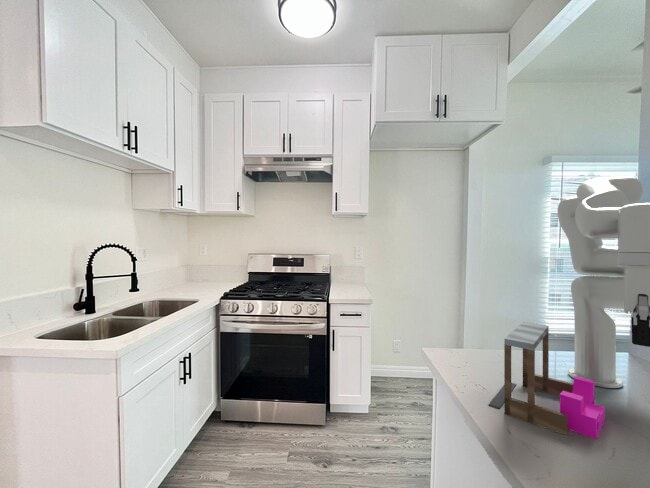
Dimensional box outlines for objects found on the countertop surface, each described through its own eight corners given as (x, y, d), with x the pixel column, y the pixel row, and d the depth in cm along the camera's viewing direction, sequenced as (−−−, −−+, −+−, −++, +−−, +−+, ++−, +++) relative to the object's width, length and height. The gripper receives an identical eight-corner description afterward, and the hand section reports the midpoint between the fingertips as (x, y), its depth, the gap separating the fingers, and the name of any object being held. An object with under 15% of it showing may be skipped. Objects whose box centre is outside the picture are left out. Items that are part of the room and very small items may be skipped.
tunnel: (523, 384, 90) (523, 322, 90) (575, 398, 82) (575, 330, 82) (504, 414, 75) (504, 338, 75) (566, 435, 67) (566, 350, 67)
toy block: (595, 440, 65) (595, 405, 65) (559, 426, 70) (559, 394, 70) (608, 414, 75) (608, 384, 75) (575, 404, 80) (575, 375, 80)
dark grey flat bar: (506, 382, 92) (506, 381, 92) (516, 385, 90) (516, 384, 90) (488, 405, 79) (488, 404, 79) (499, 409, 77) (499, 407, 77)
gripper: (618, 259, 75) (619, 329, 75) (616, 261, 63) (617, 345, 63) (664, 260, 70) (664, 335, 70) (672, 263, 57) (672, 354, 57)
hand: (642, 340), depth 66 cm, fingers open, 9 cm apart
